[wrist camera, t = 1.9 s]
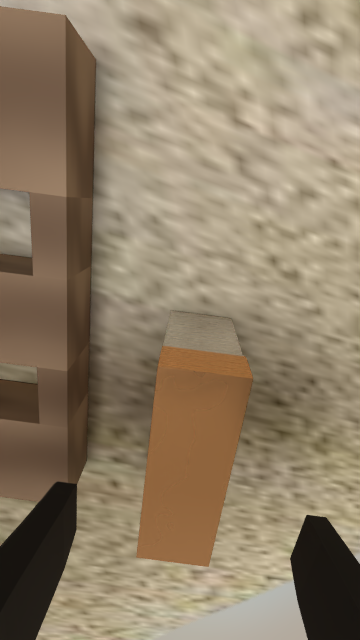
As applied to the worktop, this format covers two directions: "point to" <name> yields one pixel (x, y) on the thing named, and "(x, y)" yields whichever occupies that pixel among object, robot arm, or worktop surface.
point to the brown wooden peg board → (46, 249)
